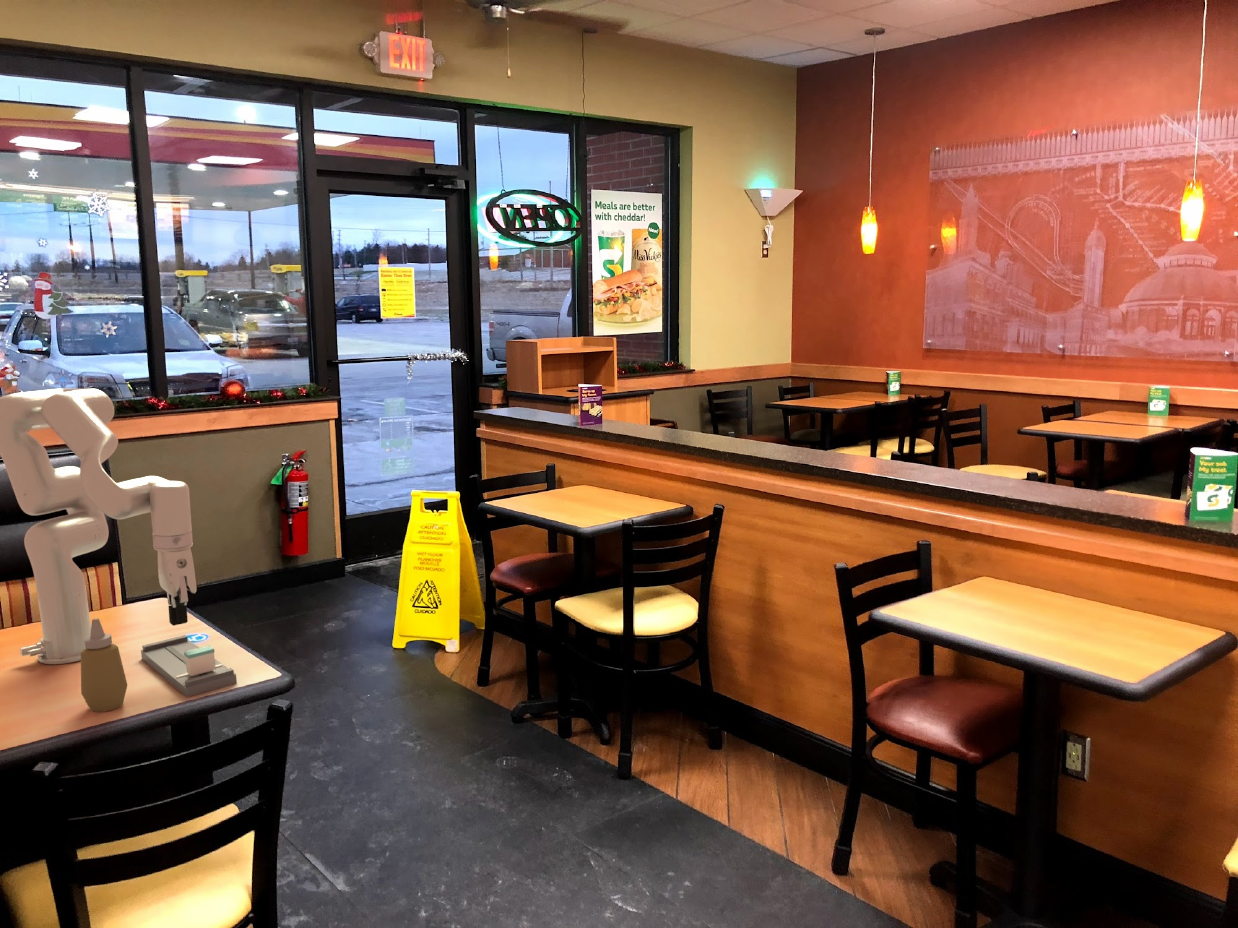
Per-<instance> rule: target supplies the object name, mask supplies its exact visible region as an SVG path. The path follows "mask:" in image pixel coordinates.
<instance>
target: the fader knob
mask: <svg viewBox="0 0 1238 928" xmlns="http://www.w3.org/2000/svg"><path fill="white" fill-rule="evenodd" d="M184 656H185V660H186V669H187V673H188V674H189V675H190V676H193V675H197V674H201V673H204V672H208V671H212V670H215V669H216V667H215V659H216V658H215V648H214V647H212V646H211V645H208V646H207V645H206V646H203V647H199V648H198V649H195V650H191V651H187V652H184Z"/></svg>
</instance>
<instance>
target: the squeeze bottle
mask: <svg viewBox="0 0 1238 928" xmlns="http://www.w3.org/2000/svg"><path fill="white" fill-rule="evenodd" d="M84 641H85V647H86V648H85V649H84V650H83V651H82V652H81V660H80V682H81V683H80V691H81V692H80V693H81V696H82V697H83V699H84V700H85V703H86V704H87V706H88V709H89V710H90V711H91V712H94V713H96V712H97V713H102V712H108V711H112V710H115V709H117V708H120V707H121V706H122V705H123V703H124V701H125V697H126V692H127V689H128V681H127V677H126V674H125V670H124V669H125V668H124V665H123V662H122V661H123V660H122V658H121V653H120V649H119V647H118V645H117V644H115V643H113V639H112V634H110V633H105V631H104V627H103V626H102V624H101V621H100V619H99V618H92V620H91V634H90V636H89V637H87V638H86V639H85V640H84Z"/></svg>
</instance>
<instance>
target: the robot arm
mask: <svg viewBox="0 0 1238 928" xmlns="http://www.w3.org/2000/svg"><path fill="white" fill-rule="evenodd" d="M114 416H115V406H114V403H113V401H112V399H111V398H110V397H109V396H108V394H107V393H105V392H104V391H103V390H99V389H97V388H71V387H70V388H69V387H68V388H65V387H64V388H63V387H62V388H51V389H43V390H42V389H41V390H34V391H33V390H31V391H30V390H29V391H20V392H14V393H10V394H6V395H3V396H0V457H1V459H2V461H3V464H4V466H5V469H6V473H7V476H8V478H9V481H10V484H11V488H12V490H13V492H14V495H15V498H16V500H17V504H18V505H19V507H20V509H21V511H23V513H25V514H27V515H29V516H41V515H46V514H51V513H56V512H60V511H63V510H66V512H67V514H66V515H61V516H57V517H53V518H49V519H45V520H43V521H39V522H36V523H35V524H34V525H32V526H31V527H30V528H29V529H28V530H27V531H26V533H25V535H24V538H23V539H24V543H23V544H24V548H25V550H26V551H25V552H26V554H27V556H28V559H29V562H30V565H31V568H32V572H33V576H34V581H35V588H36V595H37V601H38V602H37V603H38V607H39V614H40V615H39V616H40V623H41V629H42V631H41V632H42V636H43V637H40V638H39V640H40V641H39V642H35V644H33V645H27V646H23V647H20V648H19V649H20V651H19V652H20V655H21V657H24V656H29V657H34V656H37V659H38V662H39V663H41V664H46V665H63V664H69V663H75V662H79V661H80V662H81V652H82V651H83V650H84V649H85V648H86V647H85V641H84V640H85V639H86V638H87V637H89V636H90V634H91V625H92V623H91V617H90V610H89V602H88V594H87V589H86V588H87V587H86V580H85V576H84V573H83V571H82V570H81V568H79V566H78V565H77V564H76V563H75V562H74V561H73V558H75V557H78V556H81V555H84V554H88V553H91V552H95V551H97V550H99V549H101V548H103V547H104V546H105V545H106V544H107V542H108V538H109V534H110V533H109V526H108V522H107V519H106V516H107V517H109V518H111V519H114V520H125V519H129V518H132V517H136V516H140V515H144V514H147V513H148V514H149V513H150V518H151V530H152V531H151V532H152V545H153V550H154V551H156V552H157V571H158V572H157V573H158V575H157V576H158V583H159V586H160V587H161V589H162V590H164V591H165V592H166V596H167V597H166V598H167V603H168V616H169V617H168V618H169V621H168V622H169V623H170V625H172V626H179V625H183V624H187V623H188V606H187V605H188V602H189V597H188V591H189V592H190V593H191V594H196V592H197V582H196V581H197V580H196V571H195V564H194V559H193V553H192V550H191V548H192V547H193V546H194V544H193V543H194V541H193V530H192V526H193V525H192V512H191V511H192V510H191V499H190V488H189V486H188V484H187V483H185V482H184V481H180V480H169V479H166V478H164V477H161V476H159V475H158V476H157V475H147V476H143V477H138V478H133V479H132V478H131V479H128V480H123V481H119V482H116V481H115V480H114V479H113V478H112V477H111V476H110V475H109V474H108V473H107V472H106V471H105V469H104V467H103V465H102V464H103V463H104V462H106V461H107V460H108V459H110V457H111V456H112V455H113V454H114V453H115V451H116V449H117V447H118V445H119V439H118V437H117V435H116V434H115V433H114V432H113V430H111V429H110V428H109V427H108V424H109V423H110V422H111V421H112V420H113V418H114ZM50 428H51V430H52V431H53V432H54V433H55V434H56V436H58V437H59V438H60V439H61V440H62V442H64V444H65V445H66V446H67V447H68V448H69V449H70V450H71V451H72V452H73V454H74V455H76V457H77V458H78V459H79V460H80V466H79V467H78V466H73V465H69V466H68V465H66V466H62V467H55V468H54V467H53V465H52V463H51V460H50V458H49V455H48V452H47V450H46V447H44V446H43V445H42V442H41V443H40V441H39V440H37V438H35V437H34V436H33V435H30V433H29V432H30V431H36V430H43V429H50ZM105 515H106V516H105Z"/></svg>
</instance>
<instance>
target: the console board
mask: <svg viewBox="0 0 1238 928" xmlns="http://www.w3.org/2000/svg"><path fill="white" fill-rule="evenodd" d="M198 648H200V647H199V646H198V645H197V644H195V643H194V642H192V641H191V640H190V639H188V636H187V635H180V636H175V637H172V638H166V639H163V640H159V641H155V642H151V643H148V644H143V645H142V650H140V654H141V656H140V657H141V660H143V661H144V662H145V663H146V664H147V665H149V666H150V668H152V669H153V670H154V671H156V672H157V673H158V674H159V675H160V676H161V677H163V678H164V679H165V680H166V681H167V682H168V683H169V684H171V685H172V686H173V687H174V688H176V689H177V690H178V691H179V692H180V693H181V694H182V695H184V697H186V698H190V697H192V696H196V695H199V694H200V695H201V694H203V693H207V692H210V691H214V690H218V689H222V688H224V687H228V686H232V685H235V684H237V683H238V682H237V674H236V673H235V672H234V669H233V668H231V667H230V668H228V667H227V666H226V665H224V664H223V663H222V662H220V661H218V660H217V659H216V658H215V667H216V669H215V670H212V671H208V672H204V673H201V674H197V675H193V676H190V675H189V674H188V673H187V669H186V660H185V656H184V652H187V651H191V650H195V649H198ZM231 684H232V685H231Z"/></svg>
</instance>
